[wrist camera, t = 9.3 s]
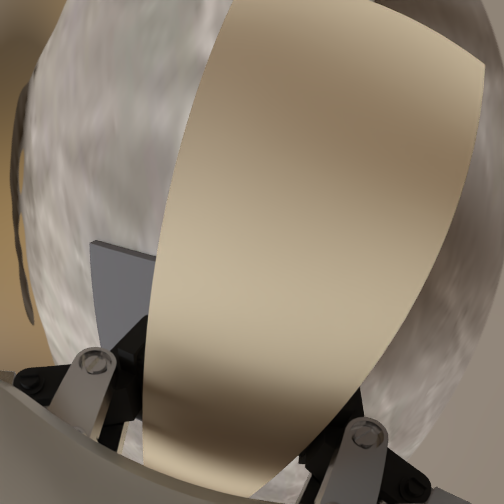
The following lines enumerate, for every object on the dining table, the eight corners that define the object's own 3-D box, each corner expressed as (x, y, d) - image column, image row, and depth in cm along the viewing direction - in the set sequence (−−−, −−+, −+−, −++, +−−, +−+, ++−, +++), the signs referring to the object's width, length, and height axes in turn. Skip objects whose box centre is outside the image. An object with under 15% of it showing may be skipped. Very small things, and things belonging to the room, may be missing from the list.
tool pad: (95, 240, 24) (89, 242, 23) (173, 261, 23) (168, 265, 22) (119, 405, 33) (116, 409, 32) (172, 428, 32) (170, 432, 31)
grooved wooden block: (278, 70, 8) (246, -26, 3) (393, 111, 8) (484, 65, 2) (179, 420, 15) (145, 488, 10) (243, 442, 15) (222, 516, 9)
